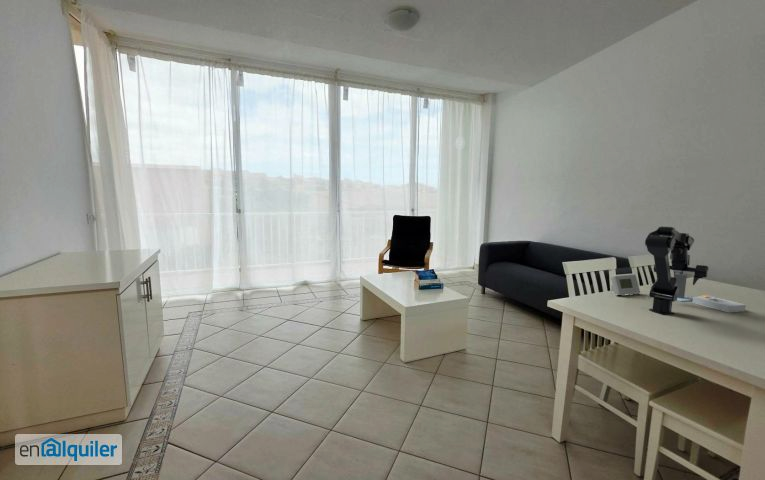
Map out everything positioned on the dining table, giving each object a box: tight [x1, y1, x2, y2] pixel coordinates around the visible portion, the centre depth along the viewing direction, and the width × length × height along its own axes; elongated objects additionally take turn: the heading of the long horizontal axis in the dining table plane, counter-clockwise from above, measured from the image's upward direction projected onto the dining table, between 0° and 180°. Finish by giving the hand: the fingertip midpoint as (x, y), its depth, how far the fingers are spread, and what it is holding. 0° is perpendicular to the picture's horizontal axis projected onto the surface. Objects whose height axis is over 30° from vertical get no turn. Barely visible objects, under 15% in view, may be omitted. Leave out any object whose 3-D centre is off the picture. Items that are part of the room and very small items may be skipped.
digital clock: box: [610, 273, 641, 295], centre depth 171 cm, size 16×9×11 cm, turn 94°
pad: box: [667, 295, 693, 303], centre depth 164 cm, size 10×10×1 cm
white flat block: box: [691, 294, 747, 313], centre depth 151 cm, size 10×14×4 cm
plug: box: [673, 271, 688, 299], centre depth 164 cm, size 4×4×14 cm
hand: (680, 283), depth 156 cm, fingers open, 9 cm apart
